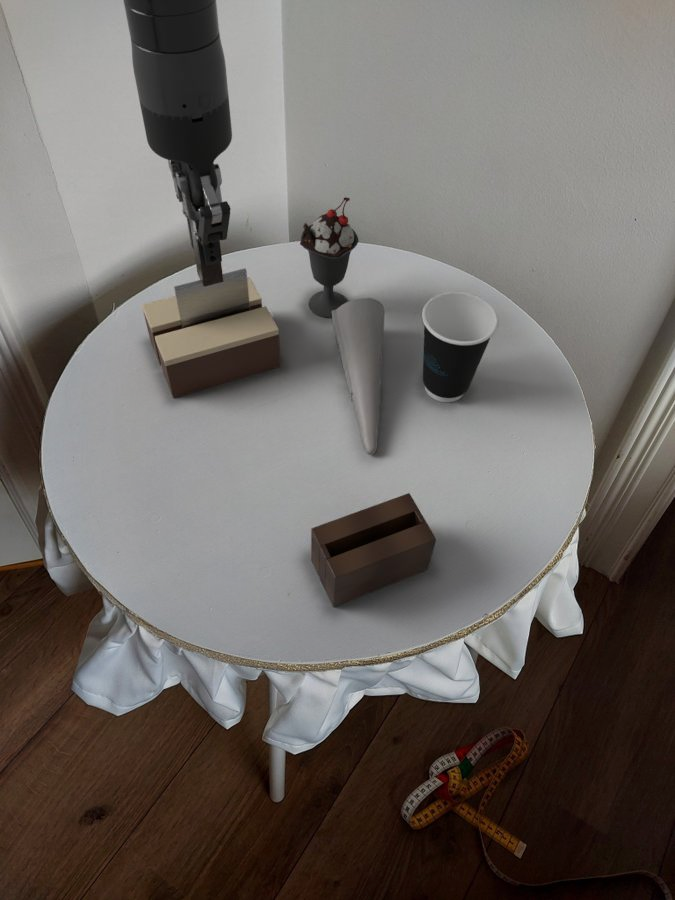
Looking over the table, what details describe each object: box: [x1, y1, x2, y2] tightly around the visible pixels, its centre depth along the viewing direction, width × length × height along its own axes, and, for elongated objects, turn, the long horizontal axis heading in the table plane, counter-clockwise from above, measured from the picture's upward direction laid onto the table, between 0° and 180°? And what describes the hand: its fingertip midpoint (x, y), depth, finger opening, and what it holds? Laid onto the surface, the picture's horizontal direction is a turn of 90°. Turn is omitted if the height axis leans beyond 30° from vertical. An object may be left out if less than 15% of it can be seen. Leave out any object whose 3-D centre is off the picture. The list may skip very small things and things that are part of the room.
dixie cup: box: [421, 291, 499, 403], centre depth 80 cm, size 8×8×11 cm
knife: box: [173, 219, 250, 329], centre depth 78 cm, size 8×2×18 cm, turn 114°
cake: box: [141, 276, 281, 399], centre depth 84 cm, size 13×10×6 cm
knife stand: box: [310, 492, 437, 608], centre depth 68 cm, size 10×5×6 cm, turn 114°
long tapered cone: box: [331, 297, 386, 456], centre depth 82 cm, size 6×6×19 cm
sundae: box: [299, 197, 359, 319], centre depth 86 cm, size 7×7×15 cm
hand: (206, 255), depth 75 cm, fingers closed on knife, 2 cm apart
